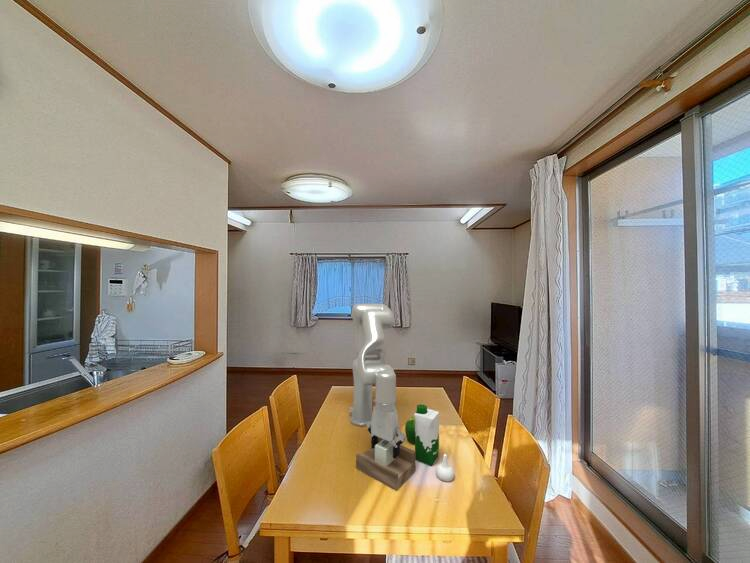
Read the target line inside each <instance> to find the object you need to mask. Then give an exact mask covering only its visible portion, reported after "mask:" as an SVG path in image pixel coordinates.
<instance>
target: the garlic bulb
mask: <svg viewBox="0 0 750 563" xmlns="http://www.w3.org/2000/svg"><path fill="white" fill-rule="evenodd" d="M441 462H442V463H440V464H438V465H437V467H436V470H435V472H436V476H437V478H438V479H439V480H440V481H443V482H451V481H453V480H454V478H455V471H454V469H453V467H452V466H451V465H450V464H448V463H449V462H448V456H447V454H446V453H444V454H443V458H442V461H441Z"/></svg>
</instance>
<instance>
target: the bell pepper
mask: <svg viewBox="0 0 750 563" xmlns="http://www.w3.org/2000/svg"><path fill="white" fill-rule="evenodd" d="M411 418H412V419H411V420H410V419H408V420H407V421H406V423H405V426H404V432H405V436H406V439H407V441H408V443H410V444H413V445H415V418H414V415H411Z"/></svg>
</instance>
